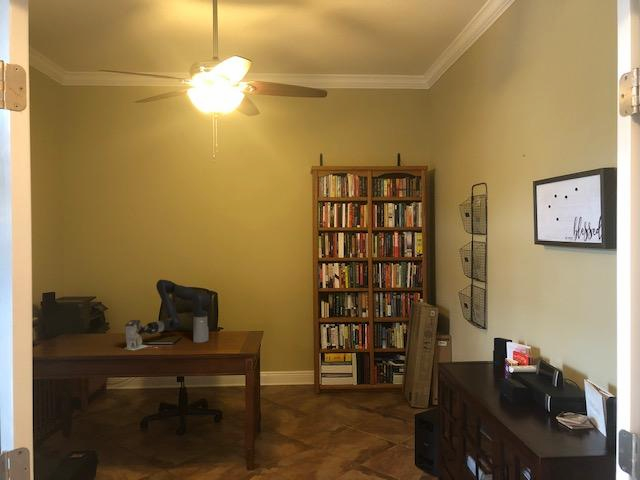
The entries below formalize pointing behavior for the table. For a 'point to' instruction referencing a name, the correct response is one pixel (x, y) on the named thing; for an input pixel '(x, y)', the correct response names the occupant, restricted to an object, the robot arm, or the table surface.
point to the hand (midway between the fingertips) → (134, 331)
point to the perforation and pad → (139, 347)
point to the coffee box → (133, 334)
